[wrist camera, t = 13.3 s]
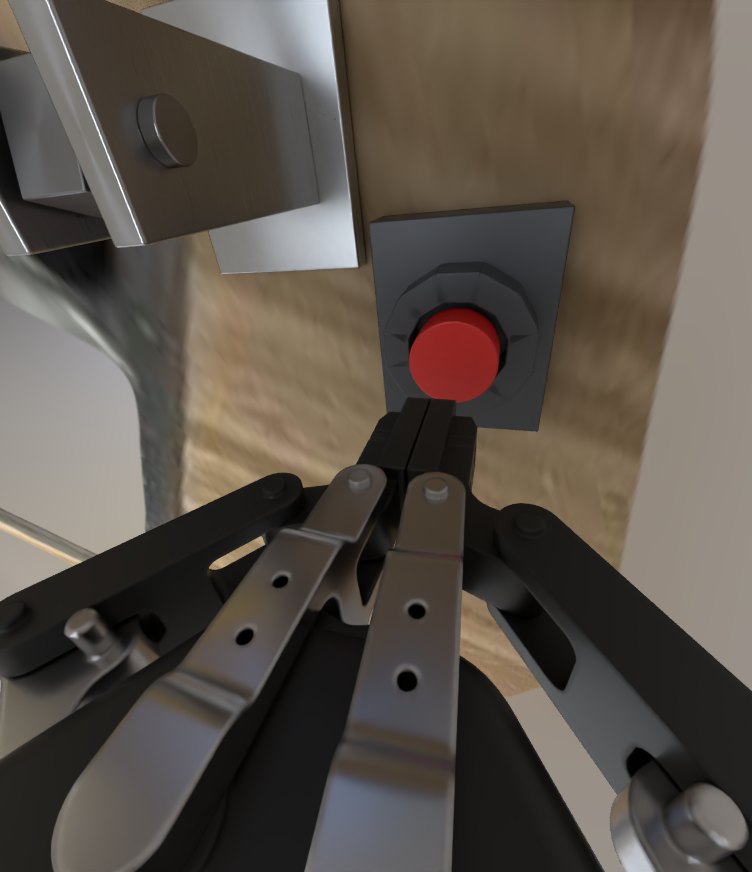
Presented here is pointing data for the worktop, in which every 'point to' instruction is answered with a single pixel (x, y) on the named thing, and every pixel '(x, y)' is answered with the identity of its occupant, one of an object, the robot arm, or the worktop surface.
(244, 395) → the worktop surface
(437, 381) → the button
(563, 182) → the worktop surface
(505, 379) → the button block
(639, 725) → the robot arm
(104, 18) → the lever bracket
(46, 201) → the press lever
